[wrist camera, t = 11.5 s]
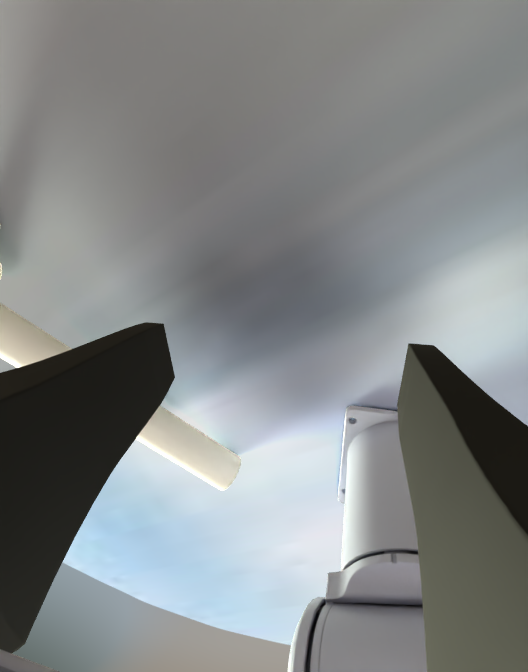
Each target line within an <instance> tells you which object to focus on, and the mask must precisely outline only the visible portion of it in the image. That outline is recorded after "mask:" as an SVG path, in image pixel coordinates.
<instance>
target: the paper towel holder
mask: <svg viewBox="0 0 528 672" xmlns="http://www.w3.org/2000/svg"><path fill="white" fill-rule="evenodd" d="M0 227H1V224H0ZM1 276H2V265H1V263H0V279H1ZM68 350H71V348H70V347H68V346H67V345H65V344H64V343H62V342H61V341H59V340H57V339H56V338H54V337H53V336H51V335H50V334H48V333H47V332H45V331H43V330H42V329H40V328H39V327H37V326H36V325H34V324H33V323H31V322H29V321H28V320H26V319H25V318H23V317H22V316H20V315H19V314H17V313H15V312H14V311H12V310H11V309H9V308H8V307H6V306H5V305H3V304H1V303H0V358H2V359H4V360H5V361H7V362H9V363H10V364H12V365H14V366H15V367H17V368H19V367H22V366H26V365H29V364H32V363H35V362H38V361H41V360H44V359H46V358H49V357H52V356H55V355H57V354H60V353H63V352H66V351H68ZM136 440H138V441H140V442H141V443H143V444H145V445H146V446H148V447H150V448H151V449H153V450H155V451H156V452H158V453H160V454H161V455H163V456H165V457H166V458H168V459H169V460H171V461H173V462H174V463H176V464H178V465H179V466H181V467H183V468H184V469H186V470H188V471H189V472H191V473H193V474H194V475H196V476H198V477H199V478H201V479H203V480H204V481H206V482H208V483H209V484H211V485H213V486H214V487H216V488H218V489H219V490H221V491H223V490H225V489H227V488H228V487H229V486H230V485H231V484H232V482H233V481H234V479H235V478H236V476H237V474H238V472H239V469H240V466H241V458H240V457H239V456H238V455H236V454H235V453H233V452H232V451H230V450H229V449H227V448H225V447H224V446H222V445H221V444H219V443H218V442H216V441H215V440H213V439H211V438H210V437H208V436H207V435H205V434H204V433H202V432H201V431H199V430H197V429H196V428H194V427H193V426H191V425H190V424H188V423H187V422H185V421H183V420H182V419H180V418H179V417H177V416H176V415H174V414H173V413H171V412H169V411H168V410H166V409H165V408H163V407H162V406H159V407H158V409H157V410H156V411H155V413H154V414H153V416H152V417H151V418H150V420H149V421H148V423H147V424H146V425H145V427H144V428H143V429H142V431H141V432H140V433H139V435H138V436H137V437H136Z"/></svg>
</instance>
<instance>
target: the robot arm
mask: <svg viewBox="0 0 528 672" xmlns="http://www.w3.org/2000/svg"><path fill="white" fill-rule="evenodd" d="M174 378H175V376H174V371H173V366H172V362H171V357H170V352H169V347H168V343H167V338H166V333H165V329H164V324H159V323H147V322H146V323H142V324H138V325H135V326H132V327H129V328H126V329H123V330H120V331H118V332H115V333H113V334H110V335H107V336H105V337H102V338H100V339H97V340H95V341H92V342H90V343H87V344H84V345H82V346H79V347H77V348H74V349H71V350H68V351H66V352H63V353H60V354H57V355H55V356H52V357H49V358H46V359H44V360H41V361H38V362H35V363H32V364H29V365H26V366H22V367H19V368H16V369H12V370H9V371H5V372H2V373H0V672H59V671H56V670H54V669H51V668H48V667H46V666H43V665H40V664H38V663H35V662H32V661H30V660H27V659H25V658H22V657H19V656H17V655H14V654H11V653H13V652H14V651H16V650H18V649H19V648H20V647H21V646H23V645H24V644H25V642H26V640H27V638H28V635H29V633H30V631H31V628H32V626H33V624H34V621H35V619H36V617H37V615H38V613H39V610H40V608H41V606H42V604H43V602H44V600H45V597H46V595H47V593H48V591H49V589H50V586H51V584H52V582H53V580H54V578H55V576H56V574H57V572H58V570H59V568H60V566H61V563H62V562H63V560H64V558H65V556H66V554H67V552H68V550H69V548H70V546H71V544H72V542H73V540H74V538H75V536H76V534H77V532H78V530H79V529H80V527H81V525H82V523H83V521H84V519H85V518H86V516H87V514H88V512H89V510H90V508H91V506H92V505H93V503H94V501H95V500H96V498H97V496H98V494H99V493H100V491H101V489H102V488H103V486H104V484H105V483H106V481H107V479H108V477H109V476H110V474H111V473H112V471H113V470H114V468H115V467H116V465H117V464H118V462H119V461H120V459H121V458H122V457H123V455H124V454H125V452H126V451H127V450H128V448H129V447H130V446H131V444H132V443H133V442H134V440H135V439H136V437H137V436H138V435H139V433H140V432H141V431H142V429H143V428H144V427H145V425H146V424H147V423H148V421H149V420H150V418H151V417H152V416H153V414H154V413H155V411H156V410H157V409H158V407H159V406H160V404H161V403H162V401H163V399H164V397H165V396H166V394H167V392H168V390H169V388H170V386H171V384H172V382H173V380H174ZM397 407H398V411H391V410H383V409H375V408H368V407H360V406H349V407H348V408H346V413H345V424H344V435H343V445H342V456H341V467H340V478H339V489H338V500H339V501H340V502H341V503H343V504H345V507H344V524H343V541H342V557H341V571H339V572H332V573H328V576H327V587H326V597H317V598H315V599H313V600H312V601H311V602H310V603H309V604H308V605H307V607H306V609H305V611H304V612H303V615H302V617H301V619H300V621H299V623H298V625H297V627H296V630H295V633H294V637H293V640H292V644H291V650H290V656H289V663H288V672H528V426H527V425H525V424H524V423H523V422H521V421H520V420H519V419H517V418H516V417H515V416H514V415H512V414H511V413H510V412H509V411H507V410H506V409H505V408H503V407H502V406H501V405H500V404H498V403H497V402H496V401H495V400H494V399H492V398H491V397H490V396H489V395H488V394H486V393H485V392H484V391H483V390H482V389H481V388H480V387H478V386H477V385H476V384H475V383H474V382H473V381H472V380H471V379H470V378H468V377H467V376H466V375H465V374H464V373H463V372H462V371H461V370H460V369H459V368H458V367H457V366H456V365H454V364H453V363H452V362H451V361H450V360H449V359H448V358H447V357H446V356H445V355H444V354H443V353H442V352H441V351H440V350H438V349H437V348H436V347H435V346H433V345H421V344H408V350H407V355H406V360H405V366H404V371H403V376H402V382H401V387H400V393H399V398H398V403H397ZM350 418H355V420H351V419H350Z"/></svg>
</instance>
